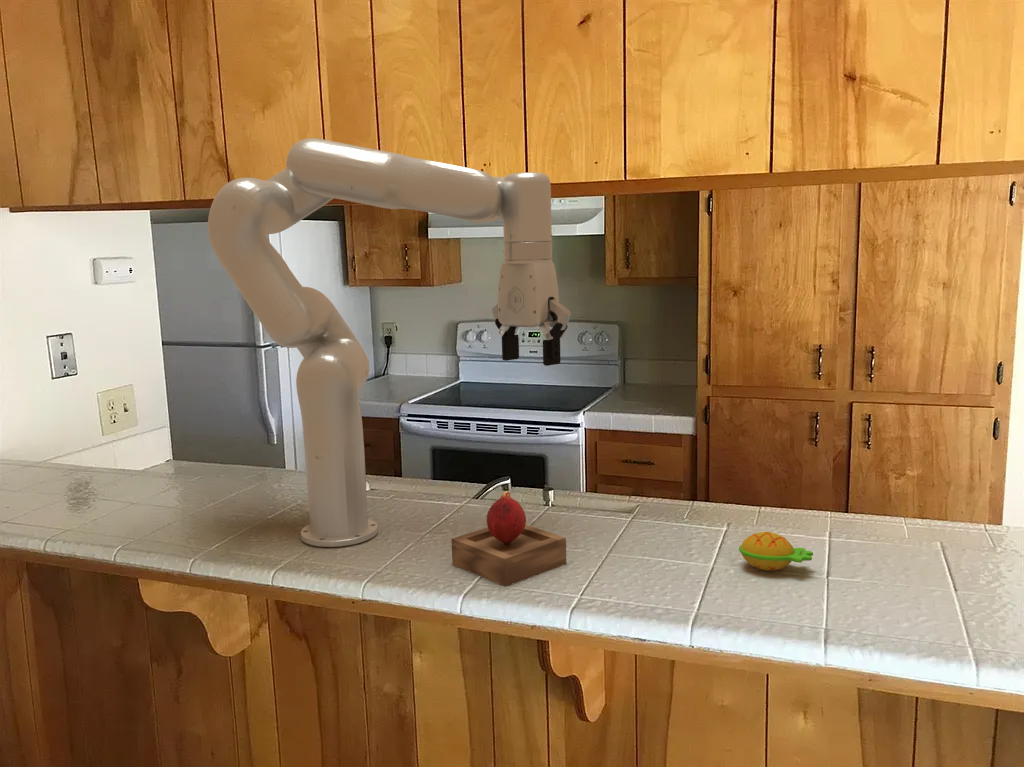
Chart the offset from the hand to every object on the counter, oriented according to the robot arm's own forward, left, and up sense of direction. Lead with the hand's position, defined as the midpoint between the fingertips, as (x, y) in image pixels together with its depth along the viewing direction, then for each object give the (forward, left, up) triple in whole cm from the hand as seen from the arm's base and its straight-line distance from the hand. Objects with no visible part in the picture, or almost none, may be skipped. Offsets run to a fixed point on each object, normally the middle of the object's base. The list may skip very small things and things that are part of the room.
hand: (530, 362), depth 135 cm
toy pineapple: (+37, +12, -28) cm, 48 cm away
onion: (+7, -13, -25) cm, 29 cm away
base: (+8, -13, -28) cm, 32 cm away
